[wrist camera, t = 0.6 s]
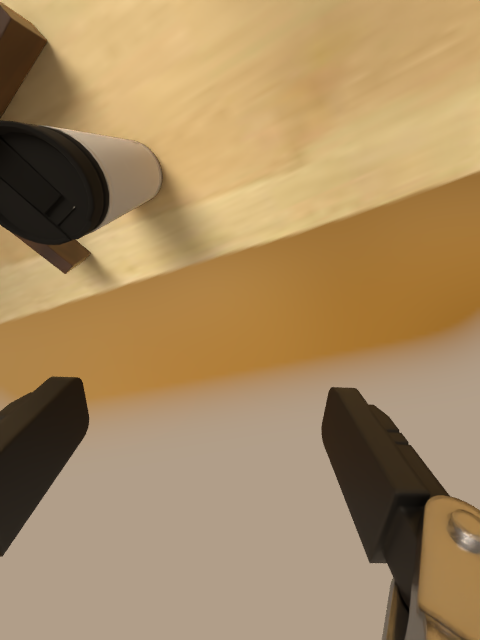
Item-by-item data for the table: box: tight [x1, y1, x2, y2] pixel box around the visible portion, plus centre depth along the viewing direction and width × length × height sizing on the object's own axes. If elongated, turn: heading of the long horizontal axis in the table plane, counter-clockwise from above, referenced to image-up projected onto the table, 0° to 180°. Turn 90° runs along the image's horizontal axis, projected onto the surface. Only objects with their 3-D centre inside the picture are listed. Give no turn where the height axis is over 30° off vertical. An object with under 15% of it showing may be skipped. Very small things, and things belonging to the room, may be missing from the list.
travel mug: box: [0, 121, 162, 245], centre depth 23 cm, size 6×7×20 cm
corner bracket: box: [0, 2, 91, 274], centre depth 28 cm, size 16×16×5 cm
